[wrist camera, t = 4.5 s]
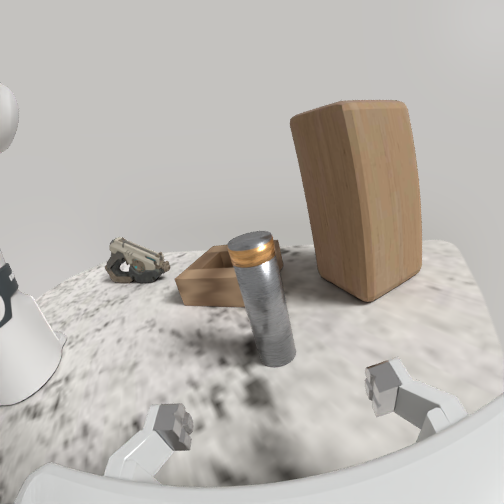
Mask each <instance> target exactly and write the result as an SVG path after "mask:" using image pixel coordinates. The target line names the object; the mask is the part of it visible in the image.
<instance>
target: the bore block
mask: <svg viewBox="0 0 504 504" xmlns="http://www.w3.org/2000/svg"><path fill="white" fill-rule="evenodd" d="M273 241H274V245H275V250H276V258H277V262H278V267H279V272H280V270H281V269H282V267H283V261H282V256H281V252H280V247H279V242H278V240H273ZM175 282H176V284H177V287H178V290H179V292H180V295H181V297H182V300H183V303H184V305H189V306H219V307H245V305H244V301H243V298H242V295H241V291H240V288H239V284H238V281H237V277H236V274H235V270H234V267H233V264H232V262H231V259H230V255H229V251H228V245H221V246H213V247H211V248H210V249H209V250H208V251H207V252H206V253H204V254H203V255H202V256H201V257H200V258H198V259H197V260H196V261H195V262H194V263H193V264H191V265H190V266H189V267H188V268H187V269H186V270H185V271H183V272H182V273H181V274H180V275H179V276H178V277H176V278H175Z"/></svg>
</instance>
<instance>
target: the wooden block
mask: <svg viewBox="0 0 504 504" xmlns="http://www.w3.org/2000/svg"><path fill="white" fill-rule="evenodd" d="M290 128H291V132H292V136H293V140H294V144H295V149H296V154H297V158H298V162H299V167H300V172H301V177H302V182H303V187H304V192H305V197H306V202H307V208H308V213H309V218H310V224H311V230H312V235H313V241H314V248H315V254H316V260H317V267H318V271H319V273H320V275H321V277H323V278H324V279H326V280H328V281H330V282H331V283H333V284H335V285H336V286H338V287H340V288H342V289H343V290H345V291H347V292H348V293H350V294H352V295H354V296H355V297H357V298H359V299H360V300H362V301H365V302H370V301H374V300H375V299H377V298H379V297H380V296H382V295H384V294H385V293H387V292H389V291H390V290H392V289H394V288H395V287H397V286H398V285H400V284H401V283H403V282H405V281H406V280H408V279H409V278H411V277H412V276H414V275H415V274H417V273H418V272H419V271H420V269H421V266H422V224H421V223H422V221H421V203H420V189H419V178H418V171H417V170H418V169H417V162H416V154H415V147H414V141H413V135H412V129H411V124H410V119H409V114H408V109H407V107H406V105H405V104H404V103H403V102H400V101H397V100H353V101H339V102H336V103H333V104H329V105H326V106H322V107H319V108H316V109H313V110H310V111H306V112H303V113H300V114H298V115H295V116H294V117H292V118H291V119H290Z"/></svg>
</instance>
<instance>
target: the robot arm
mask: <svg viewBox="0 0 504 504" xmlns="http://www.w3.org/2000/svg"><path fill="white" fill-rule="evenodd" d="M18 121H19V109H18V103H17V100H16V98H15V96H14V94H13V93H12V91H11V90H10V89H9V88H8V87H6V86H5V85H3V84H2V83H0V153H2V152H3V151H5V150H6V149H8V148H9V146H10V144H11V143H12V141H13V139H14V136H15V134H16V131H17V127H18ZM66 339H67V337H66V335H65V334H64V332H61V331H53V330H52V328H51V326H50V325H49V323H48V322H47V320H46V318H45V317H44V315H43V313H42V311H41V310H40V308H39V306H38V304H37V303H36V301H35V299H34V298H33V297H32V296H30V295H28V294H24V293H22V292H20V291H19V290H18V284H17V281H16V279H15V275H14V273H13V271H12V270H11V268H10V266H9V264H8V263H5V260H4V258H3V255H2V252H1V250H0V405H11V404H15V403H18V402H20V401H22V400H24V399H26V398H27V397H29V396H31V395H32V394H33V393H35V392H36V391H37V390H38V389H39V388H41V387H42V386H43V385H44V384H45V383H46V382H47V380H48V379H49V378H50V377H51V376H52V374H53V373H54V371H55V370H56V368H57V366H58V364H59V362H60V359H61V354H62V347H63V345H64V343H65V341H66ZM365 375H366V377H367V378H366V380H365V389H366V393H367V396H368V398H369V399H370V400H371V401H372V408H373V410H374V413H375V415H376V417H379V416H382V415H385V414H388V413H391V412H395V413H396V414H398V415H399V416H401V417H402V418H404V419H406V420H407V421H409V422H410V423H412V424H413V425H415V426H417V427H418V428H420V429H421V431H420V434H419V436H418V439H417V441H416V443H415V444H412V445H410V446H408V447H405V448H403V449H400V450H398V451H395V452H393V453H390V454H387V455H385V456H382V457H379V458H376V459H373V460H370V461H367V462H364V463H361V464H358V465H354V466H351V467H347V468H344V469H340V470H336V471H332V472H328V473H324V474H319V475H315V476H310V477H305V478H300V479H294V480H288V481H281V482H274V483H266V484H256V485H244V486H227V487H186V486H169V485H162V484H161V483H160V482H159V481H158V480H157V479H155V478H154V475H155V474H156V473H157V472H158V471H159V469H160V468H161V467H162V466H163V464H164V463H165V462H166V461H167V459H168V458H169V457H170V456H171V454H172V453H173V452H174V451H185V450H190V447H191V440H192V439H191V438H190V436H189V435H190V434H191V433H192V432H193V420H192V417H191V416H190V414H189V413H187V412H185V407H184V405H183V404H152V405H151V406H150V408H149V411H148V414H147V417H146V421H145V424H144V427H143V430H140V431H139V432H137V433H136V434H135V435H134V436H133V437H132V438H131V439H130V440H128V441H127V442H126V443H125V444H124V445H123V446H122V447H120V448H119V449H118V450H117V451H116V452H115V453H114V454H112V455H111V456H110V457H109V460H108V463H107V466H106V469H105V472H104V475H103V476H100V475H96V474H91V473H87V472H84V471H80V470H76V469H73V468H69V467H66V466H63V465H59V464H56V463H53V462H49V463H46V464H44V465H43V466H41V467H40V468H38V469H37V470H35V471H34V472H32V473H31V474H30V475H29V476H28V477H27V478H26V480H25V481H24V483H23V485H22V487H21V489H20V491H19V493H18V495H17V497H16V500H15V502H14V504H504V392H503V393H502V394H501V395H499V396H498V397H496V398H495V399H494V400H492V401H491V402H489V403H488V404H486V405H485V406H483V407H482V408H480V409H478V410H477V411H475V412H474V413H472V414H470V415H468V413H467V412H466V410H465V408H464V407H463V405H462V404H461V402H460V401H459V399H458V398H457V396H454V395H452V394H449V393H447V392H444V391H442V390H440V389H437V388H435V387H433V386H430V385H428V384H425V383H423V382H421V381H419V380H413V379H412V378H411V376H410V374H409V373H408V371H407V370H406V368H405V366H404V365H403V363H402V362H401V360H400V359H399V358H398V357H395V358H392V359H390V360H387V361H384V362H381V363H378V364H375V365H372V366H369V367H366V369H365Z"/></svg>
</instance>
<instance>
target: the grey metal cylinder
mask: <svg viewBox="0 0 504 504" xmlns="http://www.w3.org/2000/svg"><path fill="white" fill-rule="evenodd" d="M227 245H228V251H229V255H230V259H231V262H232V264H233V267H234V270H235V274H236V277H237V281H238V284H239V288H240V291H241V295H242V298H243V301H244V305H245V308H246V312H247V315H248V318H249V322H250V325H251V329H252V332H253V335H254V339H255V342H256V345H257V348H258V352H259V355H260V358H261V361H262V363H263V364H265V365H267V366H270V367H280V366H284V365H286V364H288V363H290V362H291V361H292V360H293V359H294V357H295V355H296V349H295V344H294V339H293V334H292V329H291V324H290V319H289V314H288V310H287V305H286V300H285V295H284V290H283V286H282V281H281V276H280V272H279V267H278V262H277V258H276V250H275V245H274V241H273V237H272V235H271V233H270V232H266V231H257V232H251V233H246V234H243V235H240V236H238V237H236V238H233V239H232V240H230V241H229V243H228V244H227Z"/></svg>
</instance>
